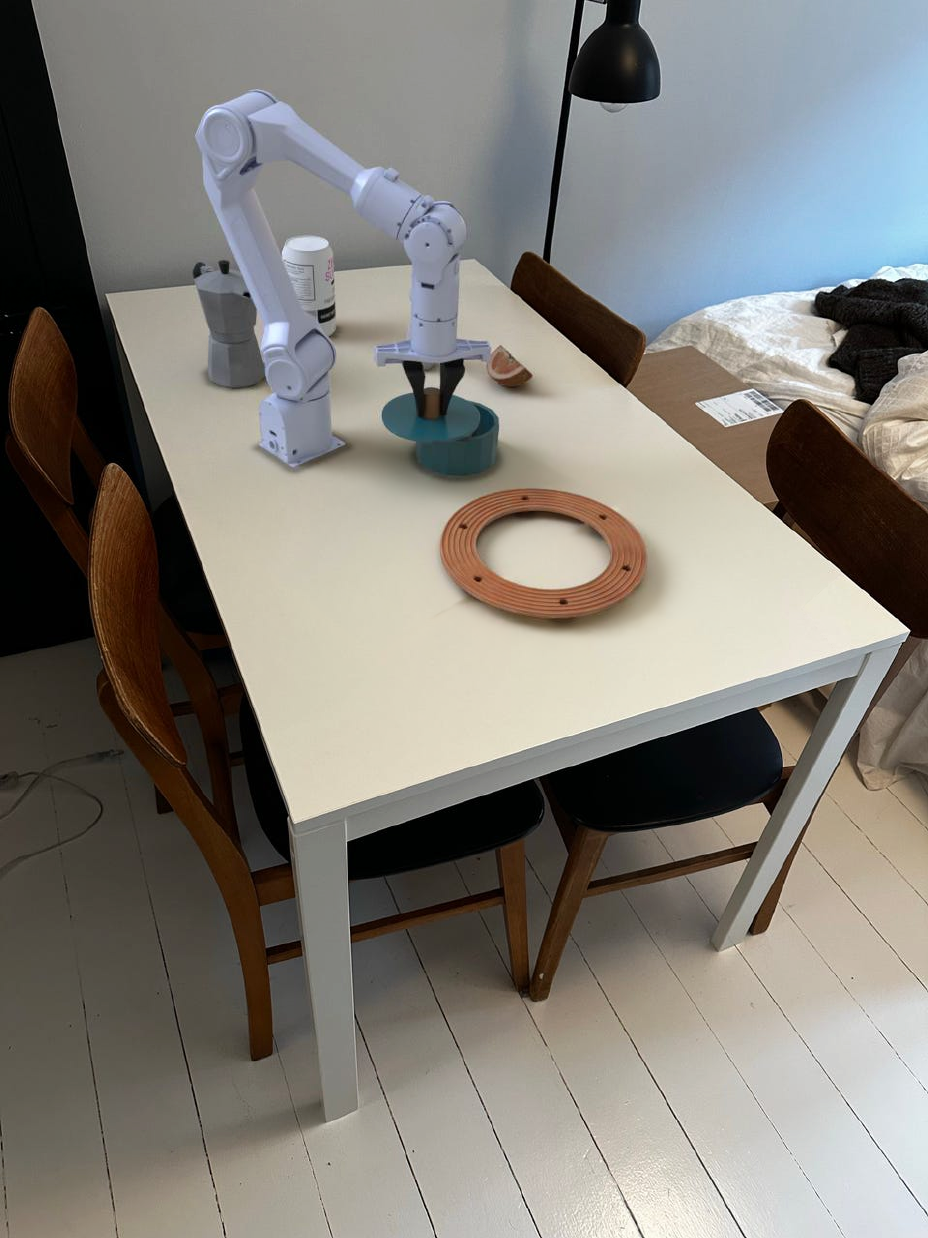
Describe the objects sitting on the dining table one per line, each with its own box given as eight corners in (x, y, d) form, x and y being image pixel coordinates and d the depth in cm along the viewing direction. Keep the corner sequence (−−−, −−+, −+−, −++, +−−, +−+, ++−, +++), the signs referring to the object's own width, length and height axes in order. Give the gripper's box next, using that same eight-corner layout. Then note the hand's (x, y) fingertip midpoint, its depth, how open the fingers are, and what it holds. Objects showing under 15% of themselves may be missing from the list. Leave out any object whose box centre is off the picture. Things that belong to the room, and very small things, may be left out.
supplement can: (282, 325, 162) (274, 236, 152) (327, 318, 165) (323, 231, 155) (296, 344, 156) (289, 254, 146) (342, 337, 159) (339, 249, 149)
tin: (455, 488, 126) (457, 449, 122) (398, 454, 132) (399, 416, 128) (512, 459, 132) (516, 421, 129) (455, 428, 138) (457, 391, 134)
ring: (470, 643, 103) (472, 626, 101) (418, 513, 121) (418, 498, 120) (678, 612, 109) (682, 596, 107) (598, 492, 127) (601, 477, 125)
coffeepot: (286, 381, 146) (277, 267, 134) (235, 399, 141) (220, 282, 129) (231, 347, 154) (217, 236, 142) (181, 363, 149) (162, 249, 137)
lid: (461, 456, 117) (463, 424, 114) (366, 435, 120) (365, 403, 117) (491, 409, 127) (494, 379, 124) (402, 391, 129) (403, 360, 126)
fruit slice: (539, 392, 148) (542, 363, 145) (501, 399, 146) (504, 370, 142) (514, 369, 153) (517, 341, 150) (478, 376, 151) (480, 347, 148)
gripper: (485, 297, 118) (478, 394, 127) (370, 300, 115) (372, 400, 124) (497, 320, 113) (490, 420, 121) (378, 325, 110) (379, 427, 119)
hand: (431, 412), depth 122 cm, fingers closed on lid, 2 cm apart
